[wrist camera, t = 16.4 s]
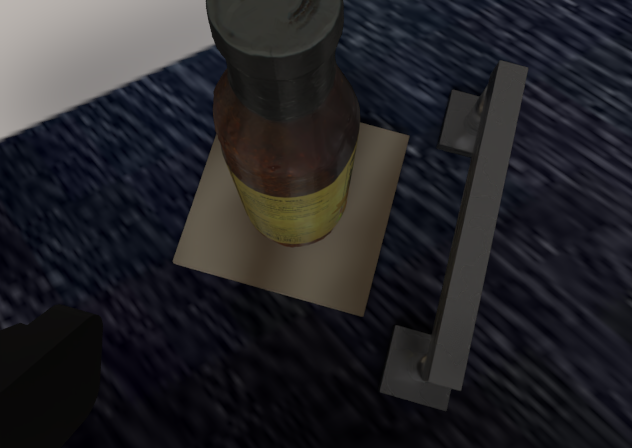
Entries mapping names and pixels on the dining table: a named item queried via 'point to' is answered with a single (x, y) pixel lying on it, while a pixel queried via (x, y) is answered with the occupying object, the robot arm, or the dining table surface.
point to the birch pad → (306, 261)
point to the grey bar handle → (461, 242)
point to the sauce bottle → (285, 114)
